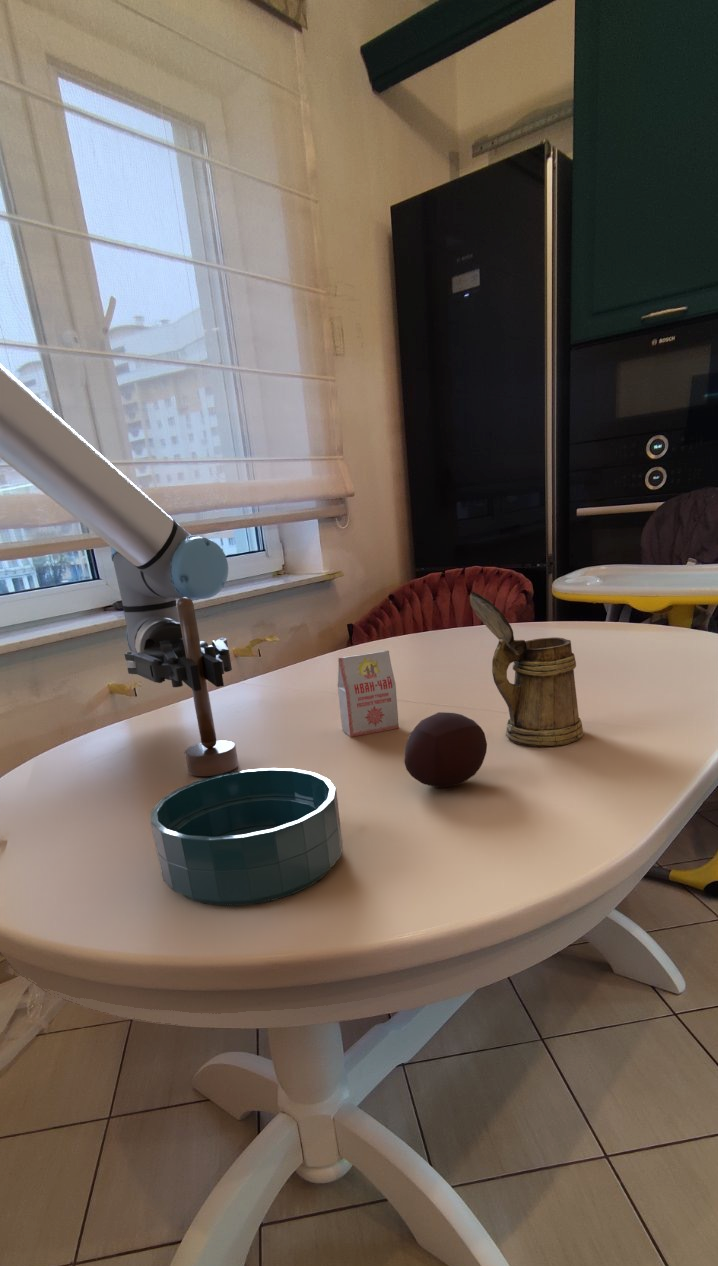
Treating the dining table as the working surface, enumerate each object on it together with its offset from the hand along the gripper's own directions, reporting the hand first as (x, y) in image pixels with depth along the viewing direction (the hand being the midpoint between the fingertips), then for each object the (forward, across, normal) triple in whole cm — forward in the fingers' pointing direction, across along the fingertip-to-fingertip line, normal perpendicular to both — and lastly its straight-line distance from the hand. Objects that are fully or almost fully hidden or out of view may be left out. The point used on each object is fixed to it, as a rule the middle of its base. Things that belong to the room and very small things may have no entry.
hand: (207, 676), depth 78 cm
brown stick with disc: (-6, 0, -12) cm, 13 cm away
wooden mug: (+9, -35, -12) cm, 38 cm away
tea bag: (-8, -22, -12) cm, 27 cm away
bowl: (+22, +3, -12) cm, 25 cm away
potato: (+16, -20, -12) cm, 28 cm away
